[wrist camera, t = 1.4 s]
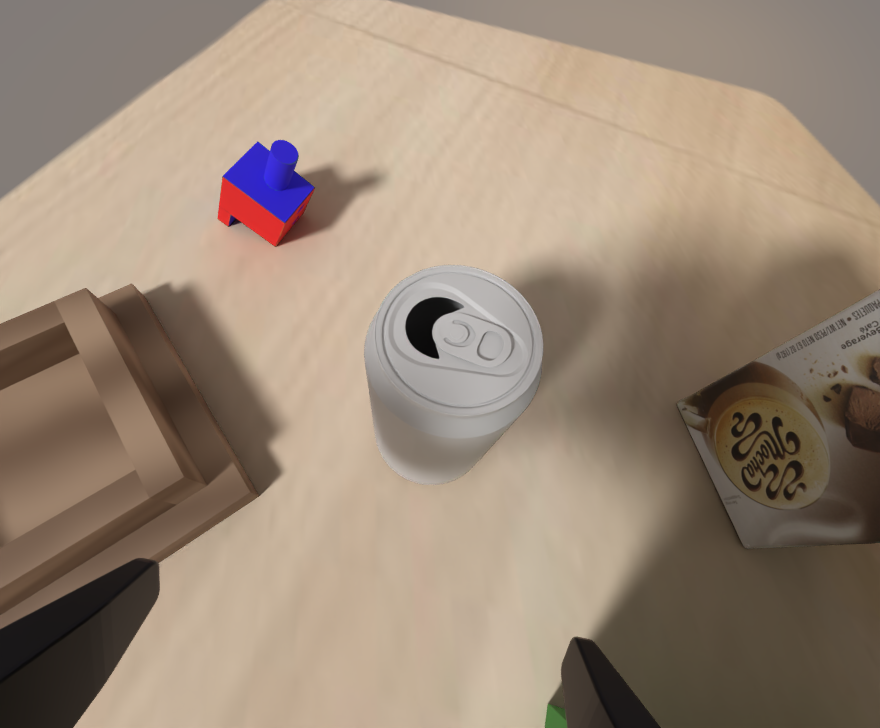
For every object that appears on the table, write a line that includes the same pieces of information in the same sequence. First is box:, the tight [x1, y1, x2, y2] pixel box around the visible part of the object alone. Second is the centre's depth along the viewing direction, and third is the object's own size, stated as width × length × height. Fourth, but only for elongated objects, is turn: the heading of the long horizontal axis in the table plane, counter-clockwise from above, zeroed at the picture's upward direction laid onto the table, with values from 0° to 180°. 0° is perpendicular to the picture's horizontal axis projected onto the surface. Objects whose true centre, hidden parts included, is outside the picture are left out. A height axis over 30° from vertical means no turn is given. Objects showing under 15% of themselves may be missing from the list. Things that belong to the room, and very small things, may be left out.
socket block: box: [0, 284, 259, 629], centre depth 20 cm, size 15×15×4 cm
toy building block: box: [218, 140, 315, 247], centre depth 27 cm, size 4×4×8 cm
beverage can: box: [364, 265, 543, 485], centre depth 19 cm, size 6×6×12 cm
